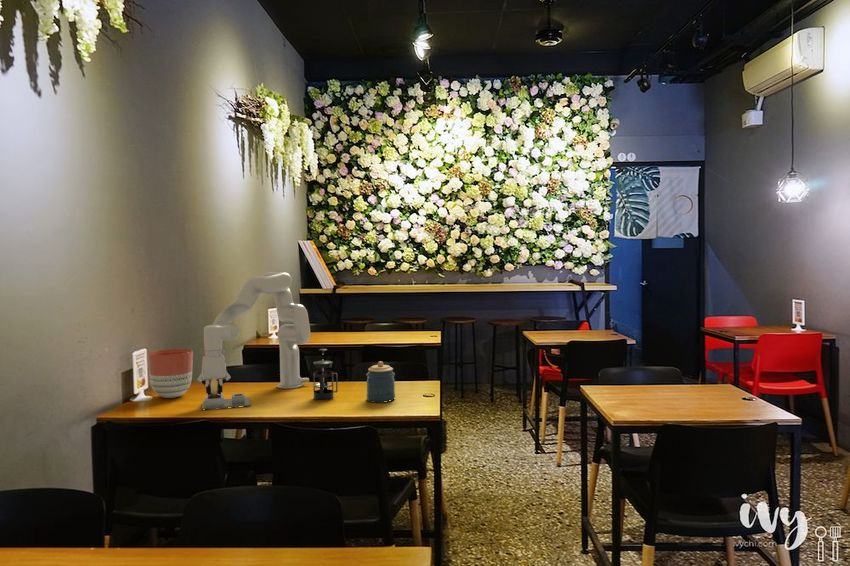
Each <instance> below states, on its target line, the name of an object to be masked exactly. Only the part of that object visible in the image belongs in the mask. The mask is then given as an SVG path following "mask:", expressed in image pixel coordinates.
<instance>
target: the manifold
mask: <svg viewBox="0 0 850 566" xmlns="http://www.w3.org/2000/svg"><path fill="white" fill-rule="evenodd" d="M245 396H246V395H245V393H232V394H231V398H225V394H224V393H223V394H222V393H221V395H219V398H211V399H210V395H209V396H208V394H207V395H205V396H204V399H203V401H202V405H201V411H202V410H203V409H216V408H228V407H239V406H250V407H251V397H245Z"/></svg>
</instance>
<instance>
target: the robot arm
mask: <svg viewBox="0 0 850 566" xmlns="http://www.w3.org/2000/svg"><path fill="white" fill-rule="evenodd" d="M292 283H293V278H292V276H291V275H290V274H289V273H288V272H281V271H276V272H275V271H267V272H265V273H263V274H261V275H256V276H250V277H249V278H247V279H246V281H245V282H244V284H243V286H242V287H241V289H240V291H239V293H238V294H237V296H236V297H235V299H234V300H233V301H232V302H231V303H230V304H228V305H227V306H225V308H223V309H222V310H221V311H220V312H219V313H218V315H217V316H216V318H215V319H214V321H212V322H213V323H212V324H209V325H206V326H204V328H203V347H204V348H203V350H204V351H203V354H204V356H202V359H201V372H200V374H199V376H198V377H197V381H198V382H199V383H201V384H203V385H204V386H205V393H206V394H207V395H208V396H209V395H210V386H209V380H211V379H219V395H221V394H222V393H223V390H224V389H223V386H224V384H225V383H226V382H227V381H229V380H230V379H231V375H230V373H228V371H227V364H226V358H225V354H227V353H226V352H227V350H226V349H223V341H233V340H236V339H237V338H239V336H241V328H240V327H239V325H238V324H235V323H232V321H234V319H236V318H238V317H239V316H242V315H245V314H246V313H248V312H250V311H251V310H252V308H254V305H255V304H256V302H257V301H258V298H259V297H260V295H271V294H272V295H273V297H274V301H275V307H276V314H277V318H278V320H279V321H281V322H283V323H286V324H282V325H281V326H279V328H278V330H277V334H276V335H277V341H278V345H279V346H278V347H279V372H280V373H279V375H280V376H279V377H280V378H279V379H280V382H279V383H277V386H276V387H277V388H279V389H284V390H285V389H286V390H289V389H299V388H301V387H303V385H304V383H309V382H310V378H309V377H301V375H300V348H299V346H298V345H305V344H307V343H308V342H309V341H310V338H311V327H310V320H309V313H308V309H306V307H305V306H304V305H303V304H302V303H301V304H300V303H294V300H293V299H294V298H293V293H292V291H291V289H290V288H291V286H292Z"/></svg>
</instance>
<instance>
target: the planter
mask: <svg viewBox="0 0 850 566" xmlns="http://www.w3.org/2000/svg"><path fill="white" fill-rule="evenodd" d="M193 356H194V350H193V349H191V348H167V349H158V350H153V351H150V352H149V351H148V352H147V362H148V363H147V364H148V371H149V372H148V373H149V374H148V375H149V383H150V386H151V388H152V390H153V391H154V393H156V395H158V396H159V397H161V398H163V399H174V398H175V399H176V398H177V397H178V398H179V397H181V396H183V395H184V394H185V393H186V392H187V391H188V390H189V388H190V386H191V384H192V379H193V364H194V363H193V360H194V358H193Z"/></svg>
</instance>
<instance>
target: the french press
mask: <svg viewBox="0 0 850 566" xmlns="http://www.w3.org/2000/svg"><path fill="white" fill-rule="evenodd" d="M318 351H319V352H321V354H325V352H326V351H328V349H327V348H320V349H318ZM312 363H313V364H314V365H313V366H314V368H315V369H320V371H315V372H313V373H312V375H313V378H312V379H313V397H312V398H313V400H314V401H316V400H328V401H331V400H330V399H332V400H334V399H333V398H335V397H334V393H337V392H338V387H339V386H338V373H337V372H333V371H330V370H324V369H329V368H332V367H333V363H334V361H331V360H317V361H313V362H312ZM334 375H335V390H334ZM330 377H331V383H330V382H328V378H330ZM315 378H319V380H318V382H319V383H315V382H316V381H315V380H316V379H315ZM317 388H318V389H317ZM328 388H332V389H328Z"/></svg>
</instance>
